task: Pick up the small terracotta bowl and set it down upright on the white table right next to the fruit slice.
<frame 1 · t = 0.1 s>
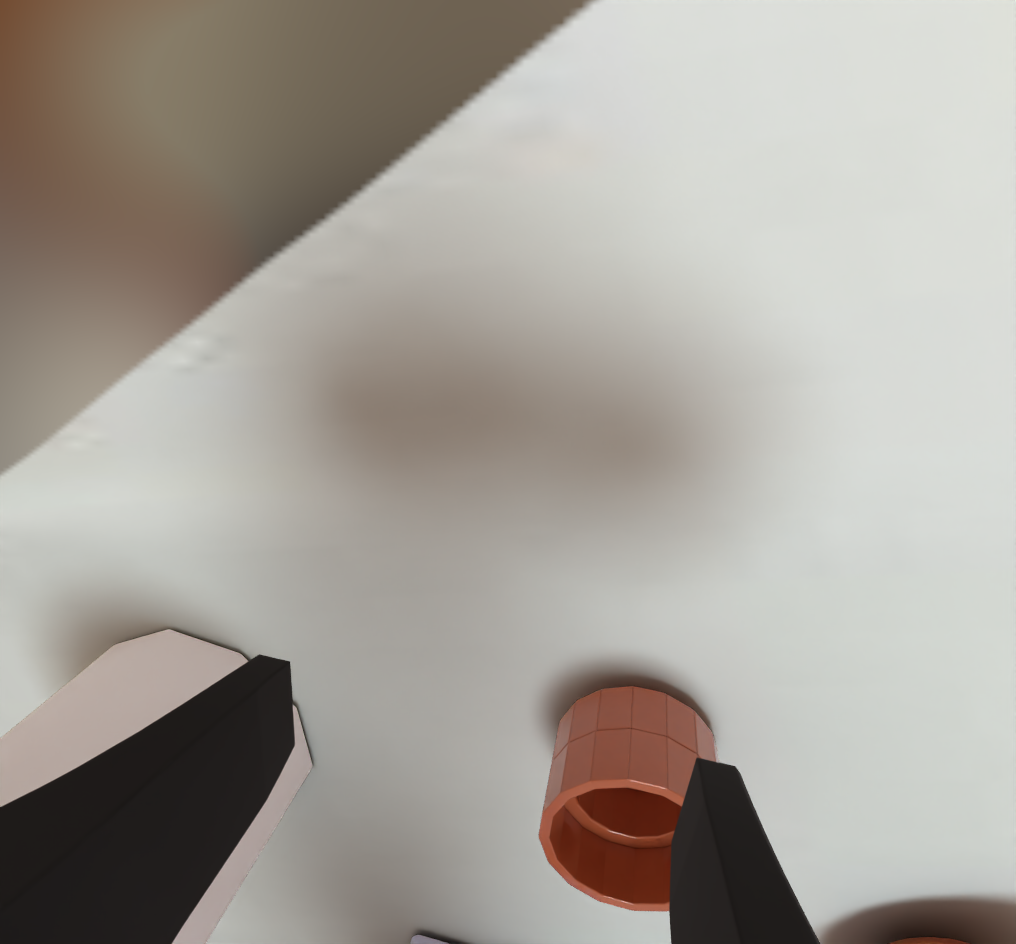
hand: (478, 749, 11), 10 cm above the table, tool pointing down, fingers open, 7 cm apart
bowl: (635, 738, 23), on the table
toilet paper: (208, 722, 28), on the table
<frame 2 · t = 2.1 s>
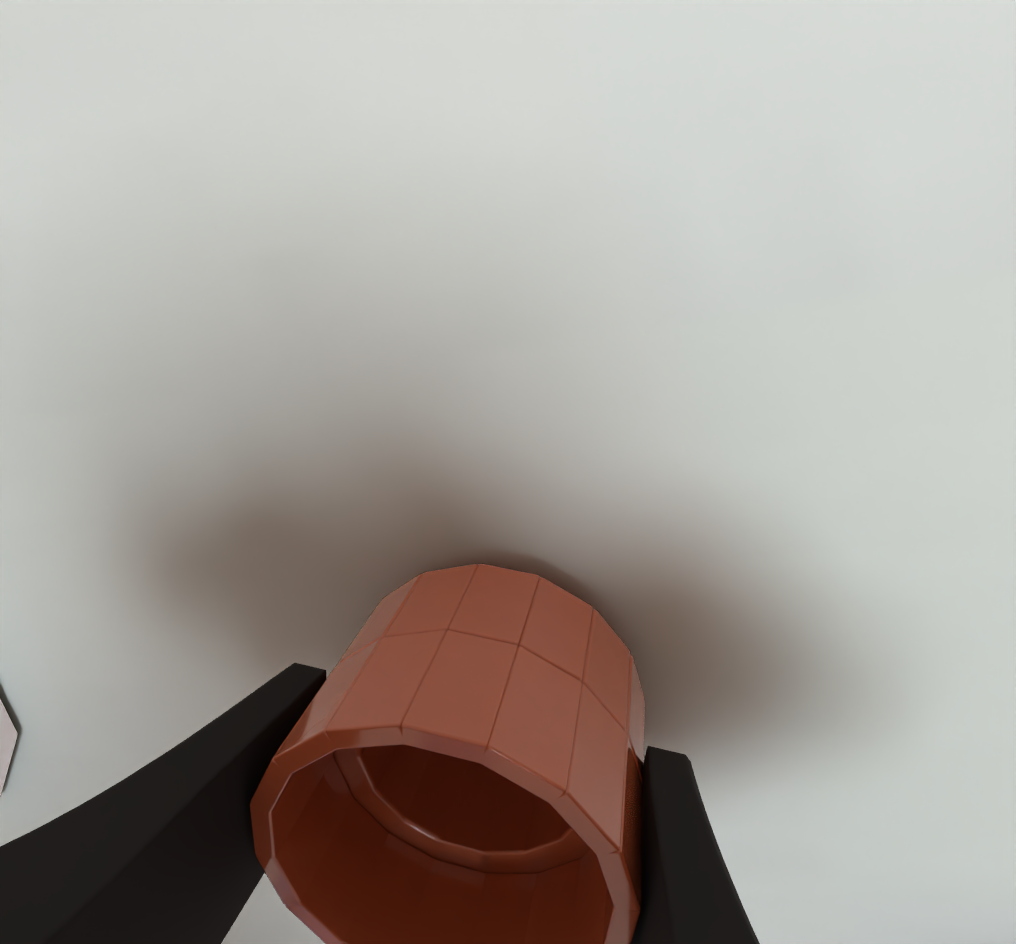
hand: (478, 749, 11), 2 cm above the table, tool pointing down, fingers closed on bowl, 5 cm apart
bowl: (501, 671, 13), on the table, touching gripper
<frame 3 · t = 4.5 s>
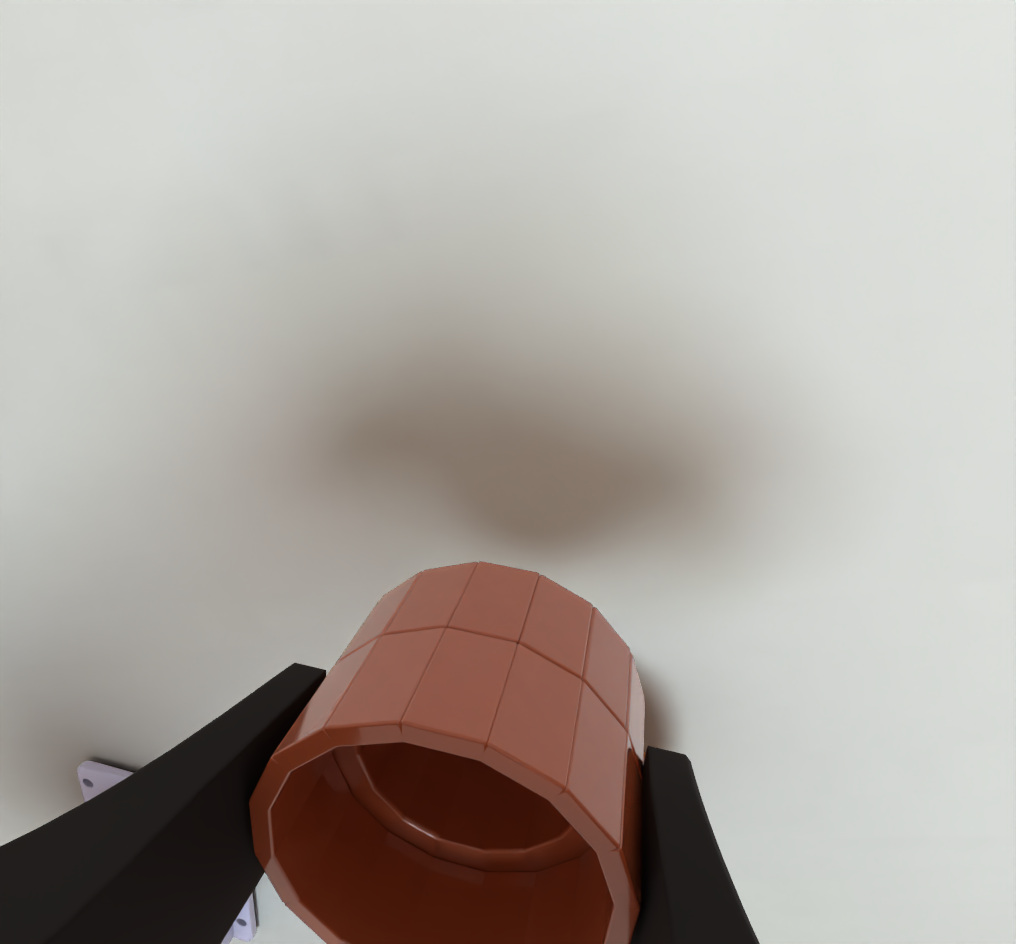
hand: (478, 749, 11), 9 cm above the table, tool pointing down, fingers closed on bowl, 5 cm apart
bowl: (501, 670, 13), point 7 cm above the table, touching gripper
when the fingers open (2 cm above the table, at t = 6.9 s): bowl stays where it is, on the table.
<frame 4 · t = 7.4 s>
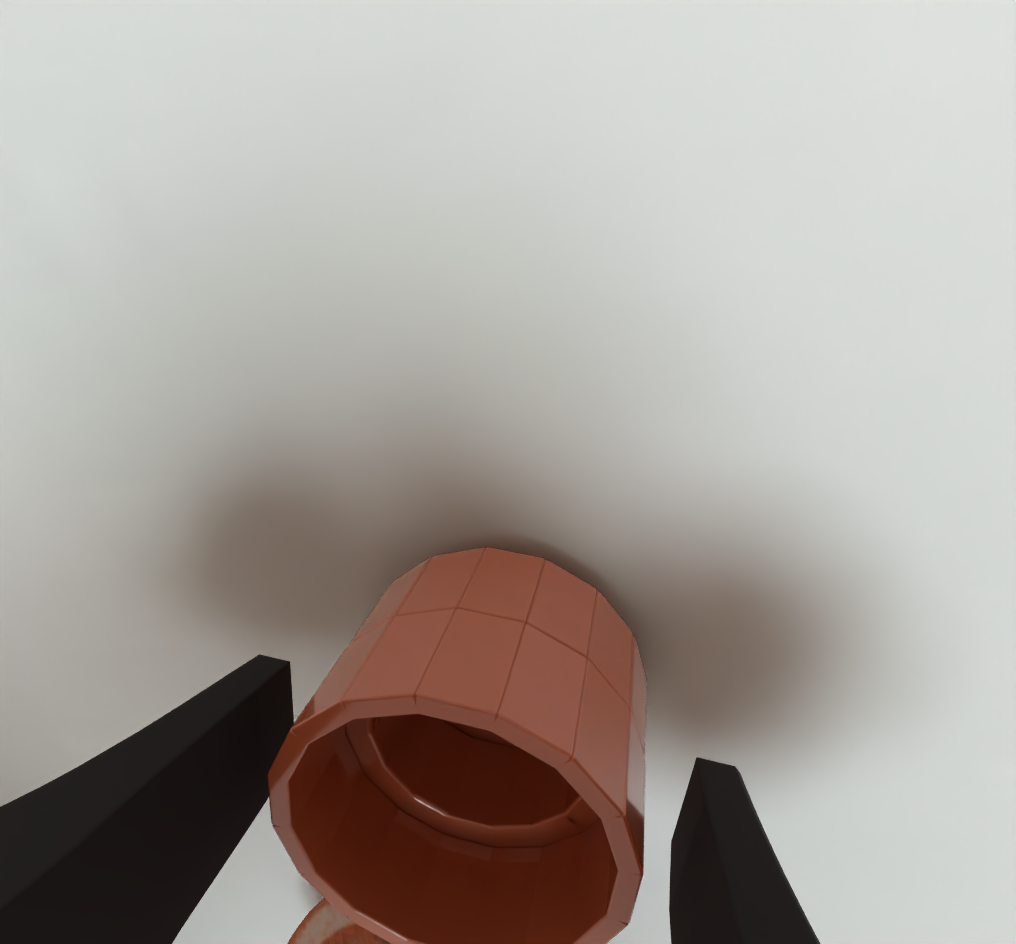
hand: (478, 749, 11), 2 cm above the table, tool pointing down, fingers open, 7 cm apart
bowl: (507, 654, 13), on the table
fruit slice: (461, 909, 17), on the table
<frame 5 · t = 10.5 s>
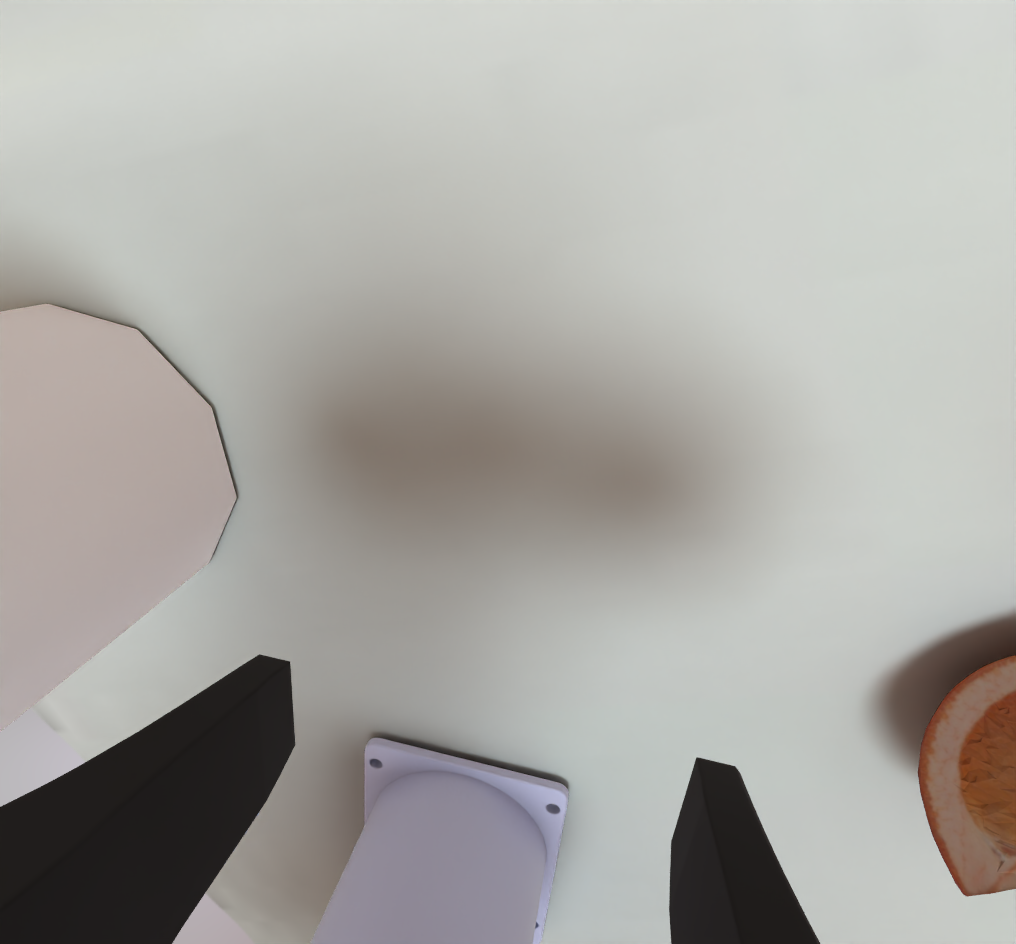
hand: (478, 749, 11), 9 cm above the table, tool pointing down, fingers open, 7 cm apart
toilet paper: (108, 452, 23), on the table
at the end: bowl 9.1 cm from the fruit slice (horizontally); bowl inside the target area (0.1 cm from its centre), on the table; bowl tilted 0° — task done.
